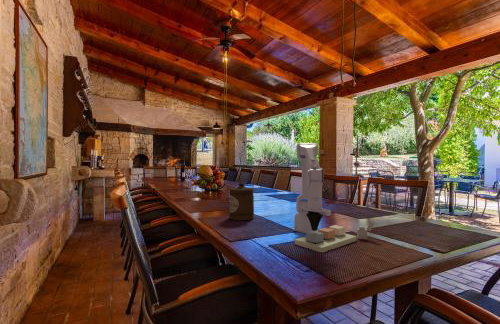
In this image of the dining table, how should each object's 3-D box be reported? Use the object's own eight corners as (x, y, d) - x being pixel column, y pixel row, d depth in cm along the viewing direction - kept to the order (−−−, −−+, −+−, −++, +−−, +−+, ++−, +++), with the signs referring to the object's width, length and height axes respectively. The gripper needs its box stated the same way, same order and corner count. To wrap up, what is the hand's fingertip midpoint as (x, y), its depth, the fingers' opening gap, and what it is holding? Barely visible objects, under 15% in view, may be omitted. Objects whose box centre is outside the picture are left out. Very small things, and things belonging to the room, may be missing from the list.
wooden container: (226, 216, 174) (226, 181, 173) (249, 215, 178) (249, 180, 178) (232, 221, 160) (232, 183, 159) (257, 220, 164) (257, 182, 164)
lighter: (357, 238, 127) (357, 221, 127) (357, 237, 129) (357, 220, 128) (374, 240, 125) (374, 222, 125) (373, 238, 127) (373, 221, 127)
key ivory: (328, 233, 127) (328, 226, 127) (335, 231, 130) (335, 225, 130) (338, 235, 123) (338, 228, 123) (344, 233, 126) (344, 227, 126)
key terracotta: (317, 236, 122) (317, 229, 122) (324, 234, 125) (324, 227, 125) (327, 239, 118) (327, 231, 118) (334, 236, 121) (334, 230, 121)
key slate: (306, 239, 117) (306, 232, 117) (313, 237, 120) (313, 230, 120) (315, 242, 113) (315, 235, 113) (323, 240, 116) (323, 233, 116)
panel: (294, 244, 119) (294, 239, 119) (329, 234, 135) (329, 229, 135) (321, 252, 108) (321, 247, 108) (356, 240, 124) (356, 236, 124)
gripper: (295, 196, 119) (295, 228, 119) (323, 200, 108) (323, 235, 108) (305, 195, 124) (305, 225, 124) (334, 199, 112) (334, 232, 113)
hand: (314, 230), depth 116 cm, fingers closed
